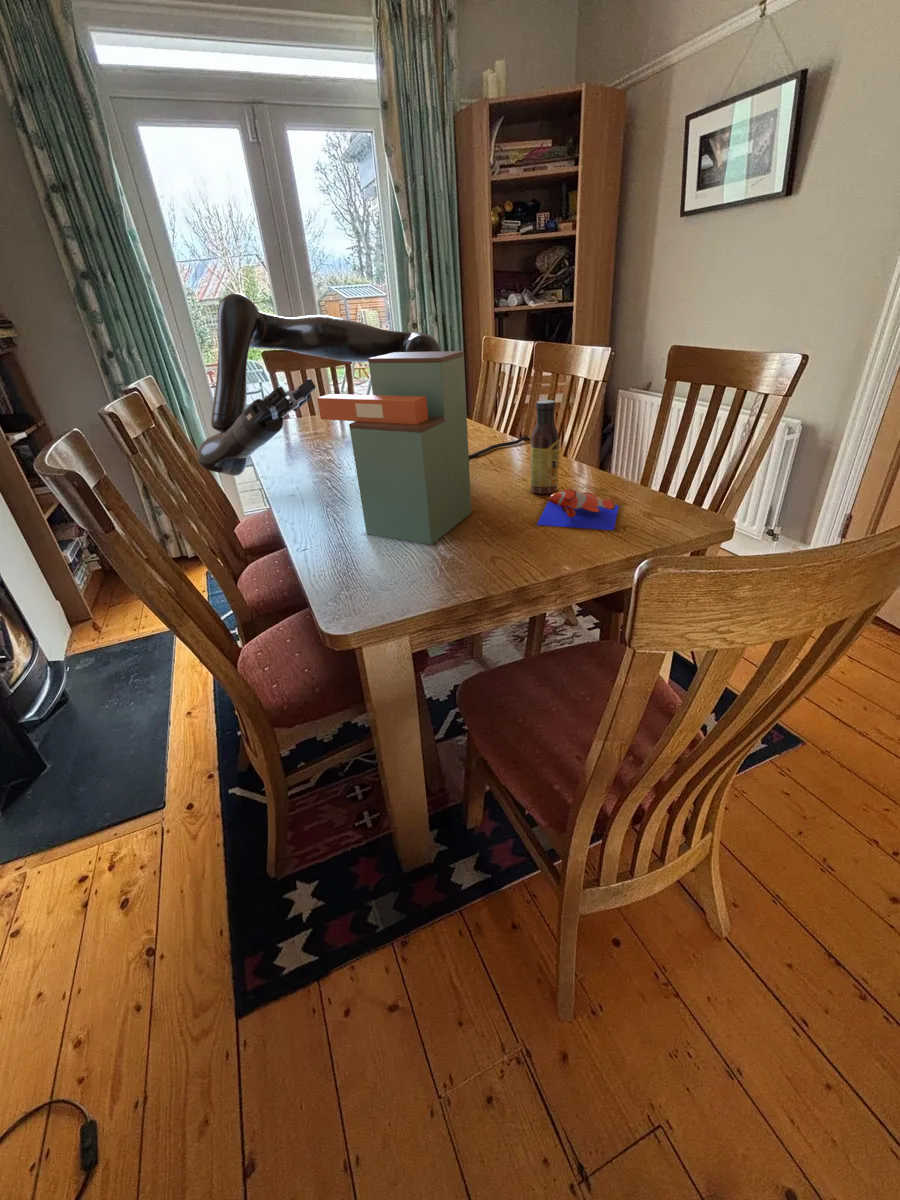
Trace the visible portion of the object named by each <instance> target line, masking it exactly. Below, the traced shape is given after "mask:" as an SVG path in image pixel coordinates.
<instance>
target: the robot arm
mask: <svg viewBox="0 0 900 1200" xmlns="http://www.w3.org/2000/svg"><path fill="white" fill-rule="evenodd" d="M217 330H218V331H217V335H218V352H217V354H218V355H217V370H216V379H215V380H216V381H215V388H214V396H213V403H212V409H211V410H212V411H211V417H210V418H211V419H210V426H211V427H212V428H213V429H214V430H215V431H217V432H218V433H217V434H214V435H212V436H210V437H207V439H205V440H204V441H202V443H201V444H200V445H199V447H198V451H197V455H196V456H197V461H198V463H199V465H200V466H201V467H202V469H205V470H206V471H209V472H214V473H219V474H224V475H227V476H232V477H238V476H240V475H242V473H243V472H244V471H245V470H246V467H247V462H248V461H247V460H248V457H250V456H251V455H252V454H254V453H255V452H256V451H257V450H258V449H259V448H260V447H262V446H264V445H265V444H267V443H268V442H269V441H270V440H271V439H272V438H273V437H274V436H276V435H277V434H278V433H279V432H280V431H282V429H283V426H284V418H285V417H286V416H288V415H289V414H290V412H297V411H298V410H299V409H300V408H301V407H302V406H303V405H305V404H306V403H307V402H308V401H310V400H311V399H312V395H311V394H312V392H313V391H314V390H316V384H315V383H314V381H313V380H312V378H306V379H305V380H304V382H302V383H301V384H300V385H299V386H298V387H297V388H294V390H292V391H291V390H286V391H285V389H284V388H283V386H281V385H279V386H276V387H275V388H274V389H273V390H272V391H271V392H270V393H269V394H268V395H265V396H263V398H257V399H254V400H253V401H252V402H251V403H250V404H249V405H248V406H247V402H248V401H247V399H248V398H247V397H248V388H247V385H248V384H247V367H248V358H249V357H248V356H249V351H250V348H255V349H272V350H283V351H284V350H285V351H288V352H289V351H290V352H293V353H298V354H303V355H306V356H312V357H318V358H323V359H328V360H334V361H341V362H349V363H350V362H351V363H369V362H368V358H372V357H376V356H381V355H385V354H389V353H393V352H439V351H442V350H441V346H440V344H439V343H438V341H437V340H436V339H435V338H434V337H433V336H432V335H430V334H428V333H427V332H421V331H420V332H419V331H418V332H416V331H415V332H413V331H412V332H411V331H398V330H387V329H383V328H379V327H375V326H372V325H370V324H367V323H362V322H359V321H355V320H351V319H347V318H342V317H337V316H332V315H331V316H330V315H325V314H313V315H312V314H311V315H302V316H297V317H295V316H294V317H284V316H279V315H276V314H271V313H267V312H263V311H260V310H258V307H257V306H256V304H255V303H254V302H253V300H252V299H250V298H249V297H248V296H247V295H245V294H242V293H237V292H236V293H230V294H227V295H225V296H224V297H223V298H222V299H221V300H220V302H219V304H218V306H217ZM287 397H288V398H287ZM524 440H525V441H527V442H530V441H531V442H532V439H531V438H530V437H529V436H527V435H524V436H520V437H519V438H518V439H516V440H512V441H507V442H501V443H495V444H493V445H490V446H488V447H486V448H483V449H480V450H478V451H476V452H474V453H472V454H469V460H470V459H473V458H476V457H478V456H480V455H483V454H486V453H487V452H489V451H491V450H495V449H498V448H502V447H507V446H514V445H517V444H520V443H521V442H522V441H524Z"/></svg>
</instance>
